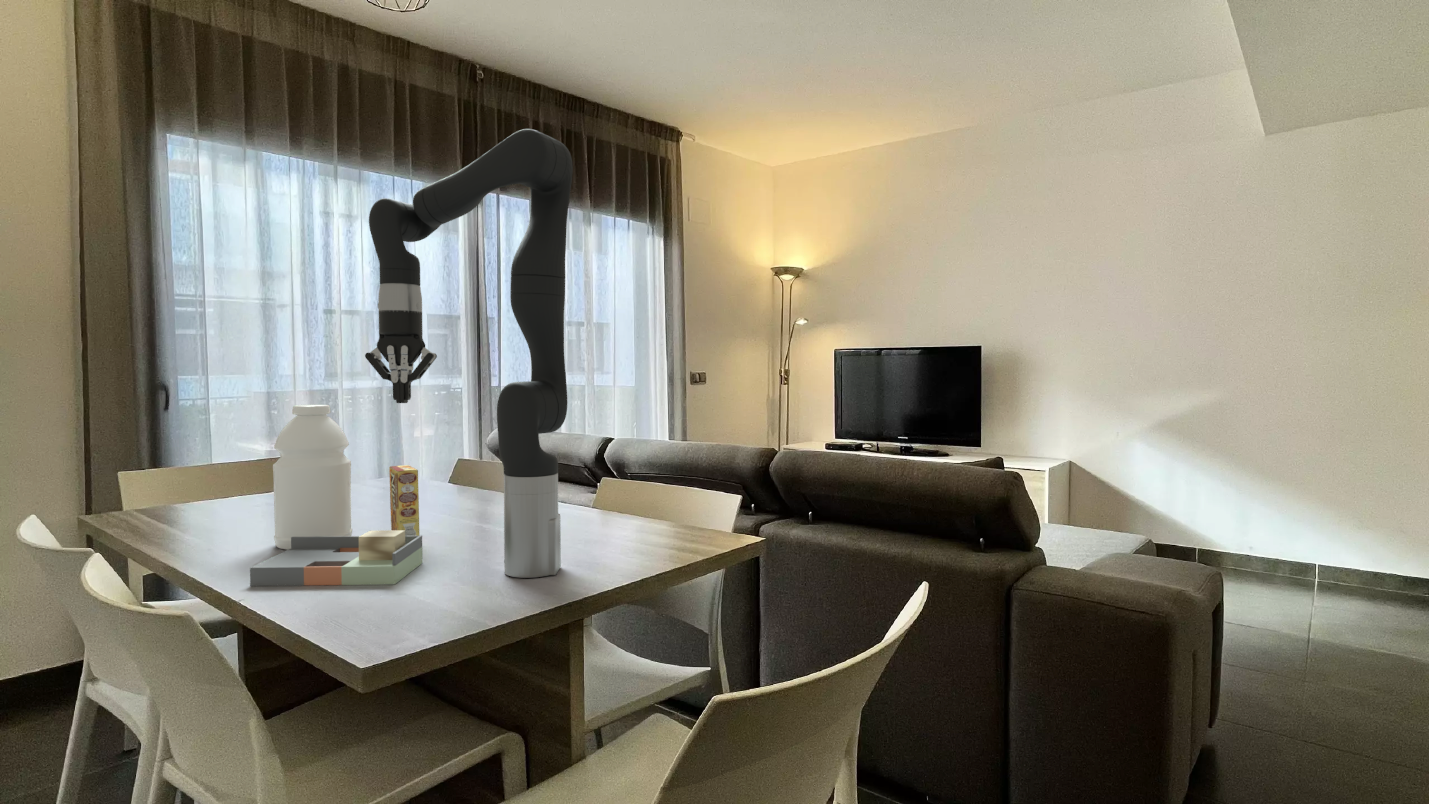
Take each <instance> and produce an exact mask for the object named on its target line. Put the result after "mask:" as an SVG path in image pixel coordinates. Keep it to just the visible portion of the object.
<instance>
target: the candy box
mask: <svg viewBox="0 0 1429 804" xmlns="http://www.w3.org/2000/svg"><path fill="white" fill-rule="evenodd" d="M388 470H389V473H388V474H389V501H390V502H389V503H390V507H389V508H390V529H391V530H405V536H421V535H420V508H419V507H420V503H419V499H420V497H419V469H418V468H415V467H413V466H411V465H410V464H407V465H406V464H405V465H391V466H389V469H388Z"/></svg>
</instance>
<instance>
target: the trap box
mask: <svg viewBox="0 0 1429 804" xmlns="http://www.w3.org/2000/svg"><path fill="white" fill-rule="evenodd" d="M359 536H360V535H352V536H316V537H291V549H289V550H284V551H282V552H280V553H279V554H276V555H274V556H272V557H270V558H268V559H266V560H264V561H261V562H259V563H257V564H254V565H253V566H251V567H250V568H249V578H250V580H249V582H250V583H249V585H250V587H269V586H270V587H272V586H273V587H277V586H279V587H281V586H283V587H286V586H289V587H290V586H291V587H292V586H296V587H297V586H360V585H361V586H363V585H364V586H365V585H367V586H368V585H369V586H373V585H377V586H378V585H382V586H383V585H396V584H398V583H399V582H400V581H401V580H402V579H404V578H405V577H407V575H409V574H410V573H411V572H412V571H414V570H415V569H417V568H418V567H419V566H420V565H421V564H423V535H420V536H405V545H404V546H403V547H401V548H400V549H398V550H397V551H395V552H394V553H392V560H359Z"/></svg>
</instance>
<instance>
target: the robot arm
mask: <svg viewBox="0 0 1429 804" xmlns="http://www.w3.org/2000/svg"><path fill="white" fill-rule="evenodd" d="M573 169H574V168H573V158H572V155H571V152H570V151H569V148H568V147H567V146H566V145H565V144H564V143H563V142H561V141H560V140H558V139H556V138H554V137H552V136H550V135H547V134H545V133H543V132H541V131H539V130H536V129H532V128H523V129H520V130H517V131H515V132H513V133H512V134H511V135H509V136H507V137H505V139H503V140H502V141H500V142H499V143H497V144H496V145H495V146H493V147H492V148H491V149H489V150H488V151H486V152H485V153H483V154H482V155H481V156H479V157H477V158H476V159H475V160H474V161H472V162H471V163H469V164H468V165H466V166H464V167H463V168H461V169H460V170H458V171H456V172H454V173H452V174H450V175H447V176H446V177H444V178H441V179H439V180H437V181H435V182H432V183H430V184H428V185H426V186H424V187H422V188H421V189H419V190H417V191H416V192H415V193H414V195H413V198H412V203H408V202H404V201H401V200H397V199H393V198H388V197H387V198H386V197H384V198H383V197H382V198H380V199H378V200H377V201H375V202H374V204H373V205H372V207H371V208H370V211H369V215H368V224H369V225H368V226H369V231H370V235H371V238H372V242H373V244H374V245H373V246H374V249H375V250H374V251H375V253H376V255H377V259H378V263H379V264H378V265H379V290H378V299H377V300H378V301H377V302H378V303H377V308H378V336H379V338H378V340H377V343H376V348H374V349H373V350H371V351H370V352H366V353H365V354H364V357H365V359H366V360H367V361H368V363H369V364H370V365H371V366H372V367H373V370H375V371H376V372H377V373H378V375H379V377H381V378H382V380H386V381H389V382H391V384H392V398H393V400H394V401H395V403H396V404H408V402H409V401H410V400H411V398H412V383H413V382H415V381H418V380H420V379H422V377H423V376H424V374H425V373H426V372H427V370H429V368H430V367H431V365H433V363H434V362H435V360H436V359H437V358H438V356H437V354H436V352H432V351H430V350H429V349H427V348H426V344H425V343H426V342H425V341H424V338H423V296H422V289H421V263H420V259H419V257H418V256H416V255H415V254H413V253H412V252H410V251H409V250H407V248H406V245H405V242H406V243H416V242H419V241H421V240H425V239H427V238H428V237H429V236H430V235H432V234H433V233H434V232H435V231H436V230H438V229H439V228H440V227H441V226H442V225H444V224H447V223H448V222H451V221H453V220H456V219H459V218H460V217H463V216H465V215H467V214H469V213H470V212H471V211H474V209H475V208H476V207H477V206H479V204H480V203H481V202H482V201H483V199H484V198H485V197H486V196H487V195H489V193H491V192H493V191H495V190H498V189H501V188H505V187H507V186H513V185H519V184H520V185H522V186H525V187H526V188H530V215H529V216H530V217H529V221H528V226H527V229H526V231H525V232H524V236H523V238H522V240H521V241H520V243H519V245H518V247H517V249H516V252H515V254H514V256H513V259H512V263H511V267H510V269H511V270H510V290H509V291H510V296H509V297H510V306H511V310H512V313H513V315H514V318H515V320H516V323H517V324H518V327H519V329H520V331H521V333H522V335H523V337H524V339H525V341H526V344H527V347H528V350H529V353H530V362H531V363H530V364H531V366H530V367H531V369H530V370H531V374H530V376H531V377H530V378H531V379H530V381H514V382H513V381H512V382H510V383H508V384H506V385H505V386H503V388H502V390H501V391H500V393H499V395H498V399H497V404H496V405H497V406H496V425H497V438H498V439H497V440H498V441H497V442H498V453H499V459H500V460H501V462H502V466H503V526H504V527H503V528H504V529H503V536H504V537H503V539H504V540H503V547H504V548H503V549H504V552H503V553H504V558H503V559H504V560H503V565H504V574H505V575H507V576H508V577H509V576H510V577H512V578H522V579H523V578H524V579H527V578H539V577H540V578H541V577H547V576H556V575H557V574H558V571H559V570H560V569H561V563H562V560H561V551H562V550H561V549H562V547H561V546H562V545H561V530H562V529H561V528H562V527H561V513H559V460H558V458H557V456H555V455H553V454H551V453H548V452H546V451H545V450H544V449H542V447H541V444H540V436H539V435H541V434H550V433H554V432H556V431H558V430H559V429H560V428H561V427H562V426H563V424H564V422H565V420H566V418H567V415H568V414H567V412H568V387H567V375H566V362H565V304H566V252H567V250H566V249H567V228H568V227H567V225H568V223H567V222H568V215H569V214H568V213H569V205H570V199H571V198H570V197H571V191H572V190H571V189H572V183H573ZM419 357H420V359H421V361H420V362H419V363H418V365H417V366H416V367H415V368H414V366H415V365H414V363H416V362H417V360H418V358H419ZM383 358H384V359H385V360H386V362H387V363H388V367H387V366H386V364H385V363H384V362H383V361H382V359H383Z"/></svg>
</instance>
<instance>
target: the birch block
mask: <svg viewBox="0 0 1429 804" xmlns="http://www.w3.org/2000/svg"><path fill="white" fill-rule="evenodd" d="M358 536H359V560H392V553H394V552H395V551H397V550H398V549H400V548H401V547H403V546H404V545H405V530H390V529H388V530H387V529H386V530H381V529H380V530H369V531H367V532H365V533H363V534H362V535H358Z"/></svg>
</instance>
